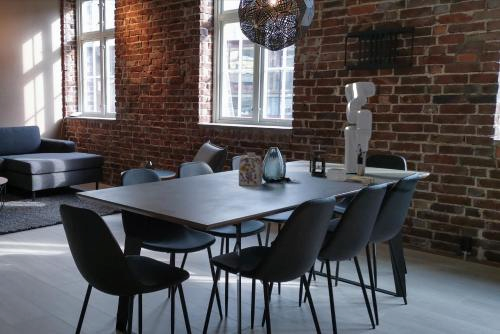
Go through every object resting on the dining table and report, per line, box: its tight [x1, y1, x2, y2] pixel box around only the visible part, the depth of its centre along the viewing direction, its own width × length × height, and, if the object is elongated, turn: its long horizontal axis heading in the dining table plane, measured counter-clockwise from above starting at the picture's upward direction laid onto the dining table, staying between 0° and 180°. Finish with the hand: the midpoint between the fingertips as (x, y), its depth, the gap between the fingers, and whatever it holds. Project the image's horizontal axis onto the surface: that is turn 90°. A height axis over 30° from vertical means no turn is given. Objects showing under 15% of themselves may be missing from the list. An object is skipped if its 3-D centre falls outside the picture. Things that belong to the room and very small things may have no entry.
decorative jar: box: [238, 152, 264, 187], centre depth 286 cm, size 12×12×18 cm
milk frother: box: [280, 154, 292, 183], centre depth 303 cm, size 14×16×15 cm
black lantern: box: [309, 140, 327, 178], centre depth 317 cm, size 12×9×23 cm
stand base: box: [323, 167, 347, 182], centre depth 305 cm, size 12×12×7 cm
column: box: [356, 151, 367, 177], centre depth 297 cm, size 5×5×15 cm
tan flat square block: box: [346, 175, 375, 185], centre depth 298 cm, size 12×12×3 cm
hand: (361, 163), depth 297 cm, fingers closed on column, 4 cm apart
